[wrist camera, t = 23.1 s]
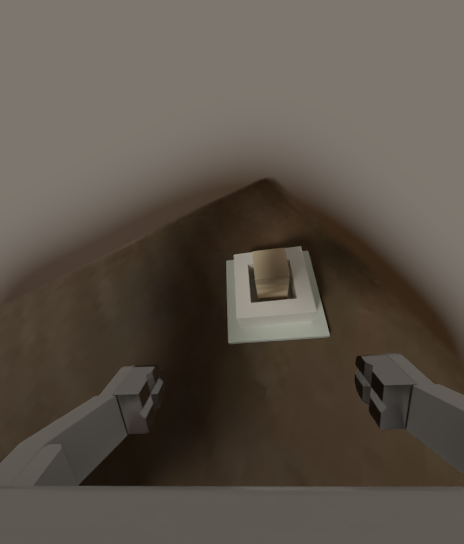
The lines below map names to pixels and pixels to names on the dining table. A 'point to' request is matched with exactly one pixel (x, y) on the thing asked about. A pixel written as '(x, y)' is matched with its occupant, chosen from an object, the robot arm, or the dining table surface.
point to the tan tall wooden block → (271, 274)
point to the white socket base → (274, 303)
